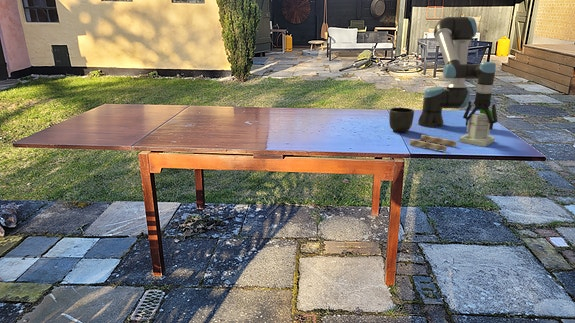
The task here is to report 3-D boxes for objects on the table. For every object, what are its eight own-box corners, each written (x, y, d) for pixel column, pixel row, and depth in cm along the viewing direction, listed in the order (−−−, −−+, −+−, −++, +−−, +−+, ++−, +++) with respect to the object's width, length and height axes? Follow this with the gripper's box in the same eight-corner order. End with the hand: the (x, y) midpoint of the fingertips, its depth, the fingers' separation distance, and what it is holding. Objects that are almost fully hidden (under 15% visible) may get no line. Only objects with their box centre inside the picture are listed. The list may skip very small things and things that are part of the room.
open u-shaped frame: (410, 145, 226) (410, 139, 225) (421, 140, 235) (422, 134, 234) (444, 152, 214) (445, 146, 213) (455, 146, 223) (456, 141, 222)
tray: (458, 141, 232) (459, 137, 231) (468, 136, 241) (469, 132, 241) (485, 147, 223) (485, 142, 222) (494, 141, 232) (495, 137, 232)
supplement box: (467, 135, 234) (470, 113, 231) (480, 135, 235) (483, 113, 231) (473, 139, 227) (477, 115, 224) (487, 139, 228) (490, 115, 224)
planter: (413, 129, 257) (415, 108, 253) (409, 135, 245) (412, 113, 241) (390, 127, 262) (392, 106, 258) (385, 132, 250) (387, 111, 246)
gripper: (459, 90, 228) (454, 131, 235) (504, 95, 214) (497, 138, 221) (465, 89, 233) (460, 128, 240) (509, 93, 219) (502, 135, 226)
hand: (477, 133), depth 231 cm, fingers closed on supplement box, 10 cm apart
